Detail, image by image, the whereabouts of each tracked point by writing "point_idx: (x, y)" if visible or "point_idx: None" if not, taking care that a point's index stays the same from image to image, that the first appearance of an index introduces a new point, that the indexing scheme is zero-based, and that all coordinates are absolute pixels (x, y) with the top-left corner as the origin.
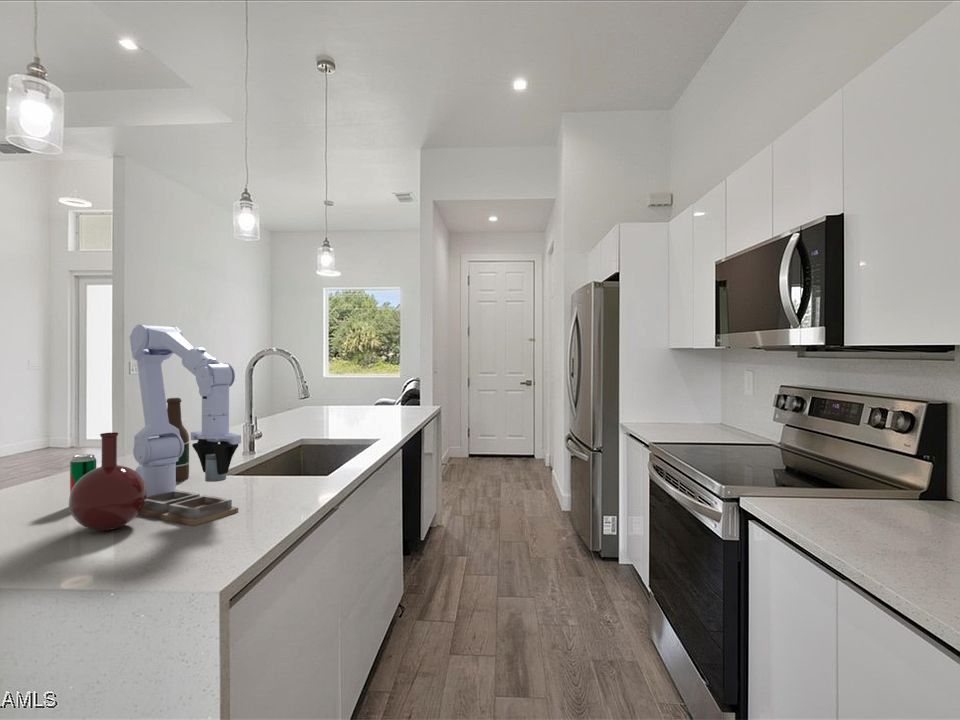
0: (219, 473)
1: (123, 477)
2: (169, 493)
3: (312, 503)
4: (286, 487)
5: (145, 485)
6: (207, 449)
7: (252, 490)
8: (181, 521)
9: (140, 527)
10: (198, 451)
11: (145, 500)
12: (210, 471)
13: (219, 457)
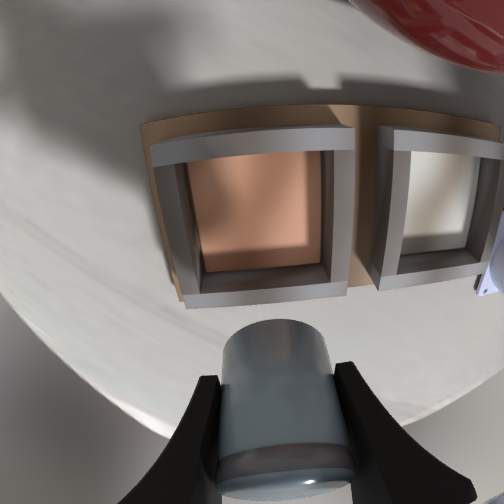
0: (202, 380)
1: None
2: (482, 245)
3: (117, 392)
4: None
5: (427, 3)
6: (368, 499)
7: None
8: (222, 110)
9: (316, 12)
10: (406, 472)
11: (370, 12)
12: (252, 374)
13: (156, 468)
